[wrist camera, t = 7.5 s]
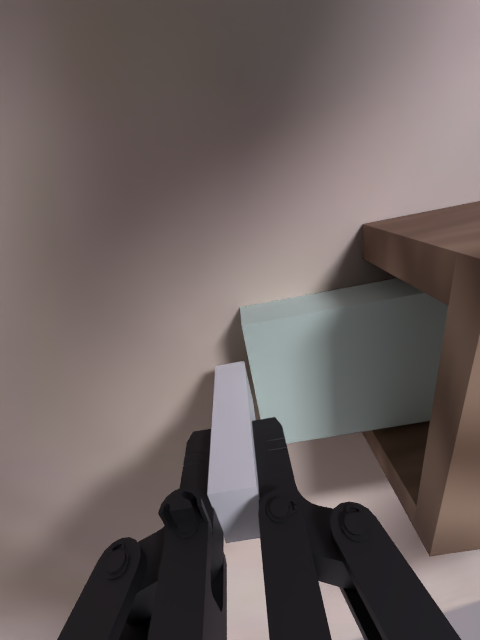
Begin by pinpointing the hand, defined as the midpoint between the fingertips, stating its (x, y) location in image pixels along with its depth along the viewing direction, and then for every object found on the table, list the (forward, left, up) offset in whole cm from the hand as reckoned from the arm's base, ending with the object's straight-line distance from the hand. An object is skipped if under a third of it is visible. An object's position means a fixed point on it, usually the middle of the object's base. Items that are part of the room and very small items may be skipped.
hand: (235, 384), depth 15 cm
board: (0, +7, -2) cm, 7 cm away
